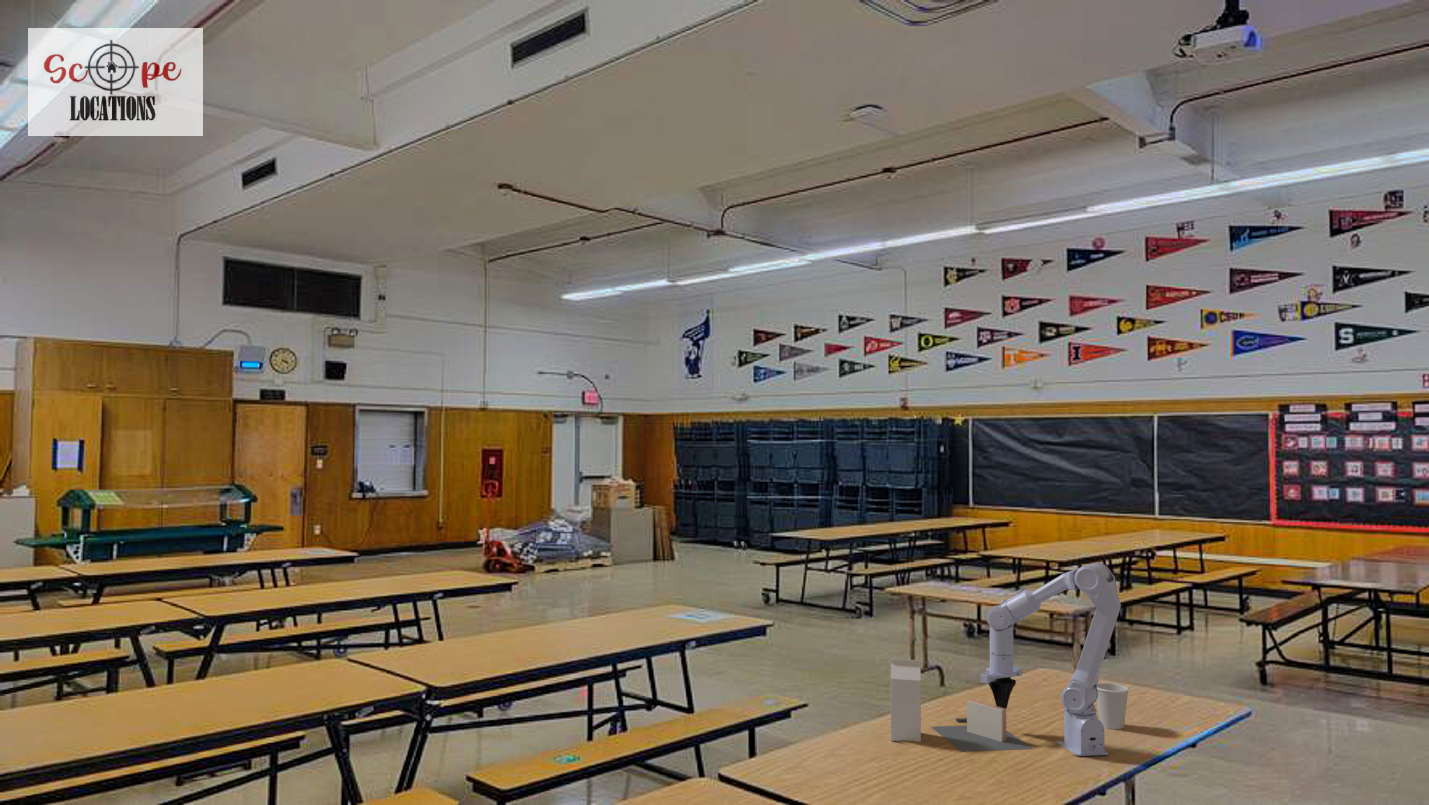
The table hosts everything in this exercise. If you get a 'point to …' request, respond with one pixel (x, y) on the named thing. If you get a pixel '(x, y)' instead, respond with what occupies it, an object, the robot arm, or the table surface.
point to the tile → (986, 720)
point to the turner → (961, 720)
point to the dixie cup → (1112, 704)
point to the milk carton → (905, 700)
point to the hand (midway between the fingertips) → (1001, 708)
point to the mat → (978, 740)
